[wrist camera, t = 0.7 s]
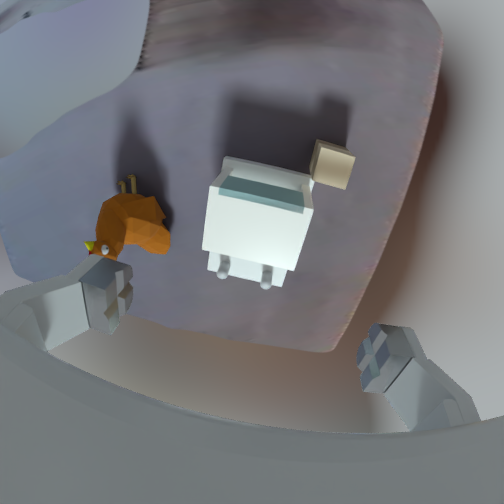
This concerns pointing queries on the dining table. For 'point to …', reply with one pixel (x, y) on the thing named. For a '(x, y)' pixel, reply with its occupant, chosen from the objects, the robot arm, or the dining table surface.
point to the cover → (256, 220)
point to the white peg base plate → (269, 176)
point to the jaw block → (331, 164)
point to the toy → (129, 224)
